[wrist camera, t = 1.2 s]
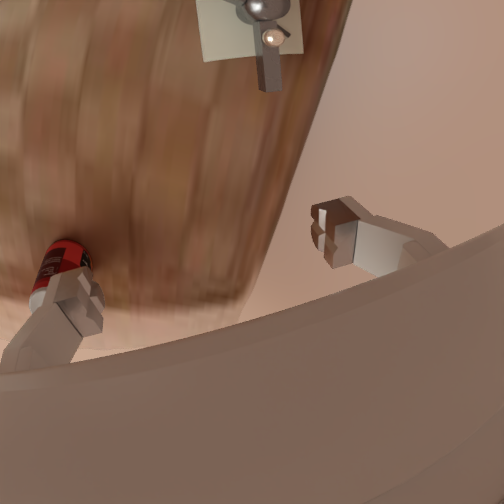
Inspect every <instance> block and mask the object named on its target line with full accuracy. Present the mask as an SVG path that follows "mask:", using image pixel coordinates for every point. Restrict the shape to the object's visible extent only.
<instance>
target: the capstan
mask: <svg viewBox="0 0 504 504" xmlns="http://www.w3.org/2000/svg"><path fill="white" fill-rule="evenodd" d="M223 1H226V2H229V3H231V4H234V5H236V9H235V10H236V15H237V17H238V18H239V19H240V20H241V21H242V22H244V23H246V24H249V25H253V34H254V44H255V54H256V64H257V74H258V85H259V90H261V91H264V92H273V91H282V80H281V66H280V54H279V46H281V45H282V44H283V43H284V41H285V35H284V33H283V32H282V31H281V30H280V29H277V21H272V20H276V19H279V18H282V17H284V16H285V15H286V14H287V13H288V12H289V10H290V6H291V2H290V0H223Z"/></svg>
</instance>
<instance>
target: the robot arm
mask: <svg viewBox="0 0 504 504" xmlns="http://www.w3.org/2000/svg"><path fill="white" fill-rule="evenodd" d="M311 216H312V218H313V219H314V222H313V224H312V225H311V235H312V239H313V242H314V244H315V246H316V248H317V249H318V250H319V251H322V252H324V258H325V260H326V261H327V262H328V264H329V265H330V266H331V268H332V269H334V268H337V267H341V266H344V265H348V264H351V263H353V264H354V265H356V266H358V267H360V268H362V269H364V270H365V271H367V272H369V273H371V274H373V275H375V276H377V277H378V278H376V279H373V280H370V281H367V282H365V283H362V284H359V285H356V286H354V287H351V288H348V289H345V290H343V291H339V292H337V293H334V294H331V295H328V296H325V297H322V298H319V299H316V300H313V301H310V302H307V303H304V304H301V305H298V306H295V307H292V308H289V309H285V310H282V311H279V312H276V313H273V314H269V315H266V316H263V317H259V318H256V319H253V320H249V321H246V322H242V323H239V324H235V325H232V326H228V327H225V328H221V329H218V330H214V331H210V332H207V333H203V334H199V335H195V336H192V337H188V338H184V339H180V340H176V341H172V342H168V343H164V344H159V345H155V346H151V347H147V348H143V349H138V350H133V351H129V352H124V353H119V354H115V355H110V356H105V357H100V358H95V359H90V360H85V361H79V362H74V363H70V362H71V360H72V358H73V356H74V354H75V352H76V351H77V349H78V347H79V345H80V343H81V341H82V340H83V337H87V336H91V335H95V334H98V333H102V329H103V317H102V315H101V313H102V311H103V310H104V307H105V300H104V295H103V292H102V289H101V287H100V286H99V284H98V283H96V282H94V281H93V280H92V278H93V273H92V272H91V270H90V268H89V267H87V266H84V267H80V268H76V269H73V270H69V271H66V272H63V273H59V274H56V275H53V276H52V277H51V278H50V281H49V284H48V287H47V290H46V293H45V296H44V299H43V303H42V306H41V307H38V308H37V309H36V311H35V312H34V313H33V314H32V315H31V317H30V318H29V319H28V320H27V321H26V323H25V324H24V325H23V326H22V328H21V329H20V330H19V331H18V333H17V334H16V335H15V336H14V338H13V339H12V340H11V342H10V343H9V344H8V345H7V347H6V348H5V349H4V352H3V355H2V359H1V363H0V504H504V224H502V225H500V226H498V227H496V228H494V229H492V230H490V231H487V232H485V233H483V234H481V235H479V236H477V237H475V238H472V239H470V240H468V241H466V242H464V243H461V244H459V245H457V246H455V247H452V248H448V247H447V246H446V245H445V244H444V243H443V242H442V241H441V240H440V239H438V238H437V237H436V236H435V235H434V234H433V233H431V232H428V231H425V230H422V229H419V228H416V227H413V226H410V225H407V224H404V223H401V222H398V221H394V220H391V219H388V218H385V217H381V216H378V215H376V216H373V215H372V214H371V213H370V212H369V211H367V210H366V209H365V208H364V207H363V206H362V205H361V204H359V203H358V202H357V201H356V200H355V199H354V198H352V197H351V196H346V197H342V198H338V199H335V200H331V201H327V202H323V203H319V204H315V205H312V207H311Z"/></svg>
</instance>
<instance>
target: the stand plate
mask: <svg viewBox="0 0 504 504" xmlns="http://www.w3.org/2000/svg"><path fill="white" fill-rule="evenodd" d="M290 2H291V6H290V10H289V12H288V13H287V14H286V15H285V16H284V17H282V18H279V19H276V20H272V21H277V29H280V30H281V31H282V32H283V33H284V35H285V41H284V43H283V44H282V45H281V46H279V54H304V53H303V39H302V26H301V15H300V4H299V0H290ZM196 7H197V15H198V23H199V31H200V39H201V46H202V54H203V61H204V62H208V61H215V60H222V59H230V58H238V57H248V56H256V54H255V44H254V34H253V25H249V24H246V23H244V22H242V21H241V20H240V19H239V18H238V17H237V15H236V10H235V9H236V5H234V4H231V3H229V2H226V1H223V0H196Z"/></svg>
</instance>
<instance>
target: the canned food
mask: <svg viewBox="0 0 504 504" xmlns="http://www.w3.org/2000/svg"><path fill="white" fill-rule="evenodd" d="M84 266H87V267H89V268H90V270H91V272H92V261H91V257H90V255H89V253H88V251H87V250H86V249H85V248H84V247H83V246H82V245H80V244H79V243H77V242H74V241H71V240H60V241H57V242H55V243H54V244H52V245H51V246H50V247H49V248H48V250H47V252H46V254H45V257H44V259H43V262H42V264H41V267H40V270H39V272H38V275H37V278H36V281H35V284H34V287H33V290H32V293H31V296H30V301H29V308H30V311H31V313H32V314H33V313H34V312H35V311H36V309H37V308H38V307H41V306H42V303H43V299H44V296H45V293H46V290H47V287H48V284H49V281H50V278H51V277H52V276H53V275H56V274H59V273H63V272H66V271H69V270H73V269H76V268H80V267H84Z"/></svg>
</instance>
